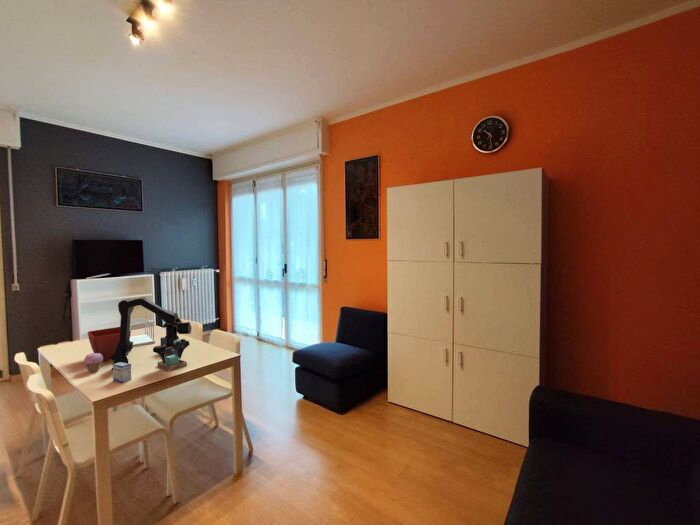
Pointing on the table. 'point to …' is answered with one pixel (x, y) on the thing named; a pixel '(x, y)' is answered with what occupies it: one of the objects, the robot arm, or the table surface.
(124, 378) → the medicine box
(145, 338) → the file sorter
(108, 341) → the plant pot
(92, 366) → the cupcake
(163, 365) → the tray
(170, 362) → the cube
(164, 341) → the vhs cassette tape
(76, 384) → the table surface
